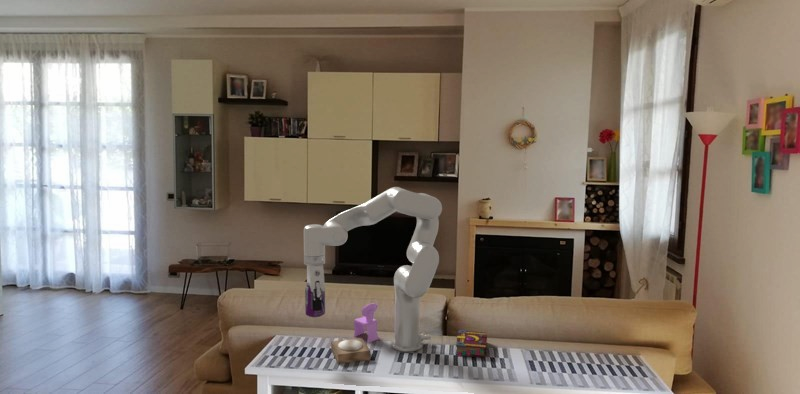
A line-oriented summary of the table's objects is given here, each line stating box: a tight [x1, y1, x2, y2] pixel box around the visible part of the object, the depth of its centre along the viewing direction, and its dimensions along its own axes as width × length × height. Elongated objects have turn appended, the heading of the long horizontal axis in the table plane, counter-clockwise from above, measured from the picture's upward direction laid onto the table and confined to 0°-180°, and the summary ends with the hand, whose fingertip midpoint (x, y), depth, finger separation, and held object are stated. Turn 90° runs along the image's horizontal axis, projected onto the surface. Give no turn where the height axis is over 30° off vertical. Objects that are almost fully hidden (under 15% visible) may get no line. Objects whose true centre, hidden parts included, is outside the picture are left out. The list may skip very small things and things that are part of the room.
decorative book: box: [455, 329, 488, 358], centre depth 208 cm, size 11×16×5 cm
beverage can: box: [304, 282, 326, 318], centre depth 196 cm, size 7×7×12 cm
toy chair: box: [353, 302, 380, 344], centre depth 216 cm, size 8×9×15 cm
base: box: [330, 337, 371, 365], centre depth 201 cm, size 12×12×4 cm
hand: (315, 306), depth 196 cm, fingers closed on beverage can, 7 cm apart
